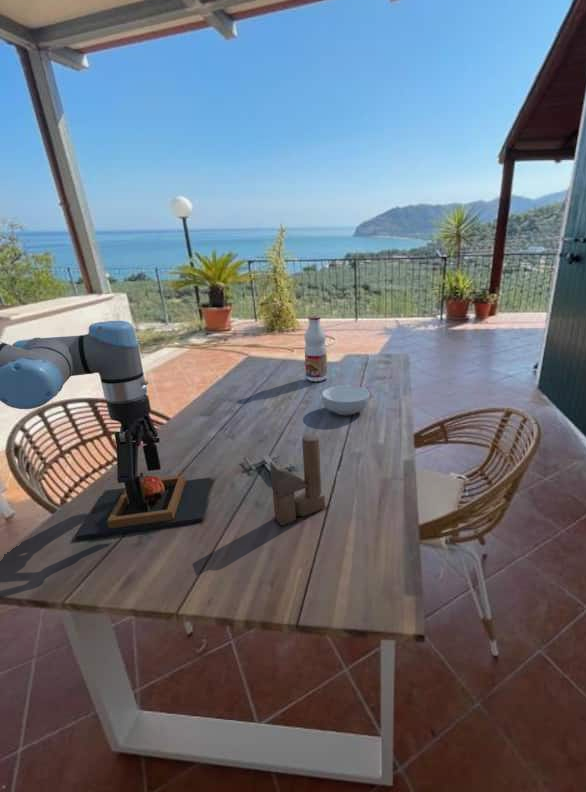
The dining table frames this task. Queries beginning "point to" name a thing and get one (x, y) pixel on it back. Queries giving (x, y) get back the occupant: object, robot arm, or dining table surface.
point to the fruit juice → (315, 349)
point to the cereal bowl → (345, 399)
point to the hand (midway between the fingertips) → (146, 485)
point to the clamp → (267, 463)
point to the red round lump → (151, 489)
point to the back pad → (174, 508)
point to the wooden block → (298, 485)
